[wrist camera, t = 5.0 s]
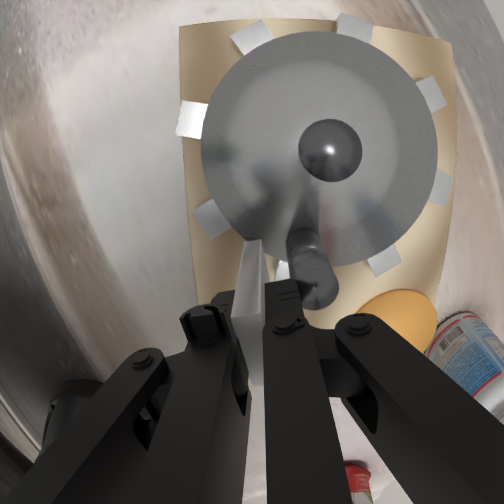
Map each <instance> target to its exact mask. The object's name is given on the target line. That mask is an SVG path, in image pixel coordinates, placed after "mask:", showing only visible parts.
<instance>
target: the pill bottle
mask: <svg viewBox="0 0 504 504" xmlns="http://www.w3.org/2000/svg"><path fill="white" fill-rule="evenodd" d="M425 356H426V357H427V358H428V359H429V360H431V361H432V362H433V363H434V364H435V365H436V366H438V367H439V368H440V369H441V370H442V371H443V372H445V373H446V374H447V375H448V376H449V377H450V378H452V379H453V380H454V381H455V382H456V383H457V384H458V385H460V386H461V387H462V388H463V389H464V390H465V391H466V392H468V393H469V394H470V395H471V396H472V397H473V398H474V399H476V400H477V401H478V402H479V403H480V404H481V405H482V406H483V407H485V408H486V409H487V410H488V411H489V412H490V413H491V414H492V415H493V416H495V417H496V418H497V419H498V420H499V421H500V422H501V423H502V424H503V425H504V344H503V343H502V342H501V341H500V340H499V338H498V337H497V336H496V335H495V334H494V333H493V332H492V331H491V330H490V328H489V327H488V326H487V325H486V324H485V323H484V322H483V321H482V320H481V319H480V318H479V317H478V316H477V315H475V314H473V313H462V314H458V315H456V316H453V317H452V318H450V319H448V320H447V321H445V322H444V323H443V324H442V325H441V326H440V327H439V328H438V329H437V330H436V332H435V334H434V337H433V339H432V341H431V343H430V344H429V346H428V347H427V349H426V353H425Z"/></svg>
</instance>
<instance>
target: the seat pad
mask: <svg viewBox="0 0 504 504" xmlns="http://www.w3.org/2000/svg"><path fill="white" fill-rule="evenodd" d="M356 313H368V314H373V315H375V316H377V317H379V318H380V319H382V320H383V321H384V322H385V323H386V324H388V325H389V326H390V327H391V328H392V329H394V330H395V331H396V332H397V333H399V334H400V335H401V336H402V337H403V338H404V339H406V340H407V341H408V342H409V343H410V344H412V345H413V346H414V347H415V348H416V349H418V350H419V351H420V352H421V353H423V352H424V351H425V350H426V349H427V347H428V346H429V344H430V343H431V341H432V339H433V337H434V334H435V332H436V327H437V314H436V310H435V308H434V306H433V304H432V303H431V302H430V300H429V299H428V298H427V297H426V296H425V295H423V294H422V293H420V292H418V291H415V290H410V289H396V290H391V291H388V292H385V293H382V294H380V295H378V296H376V297H374V298H373V299H371V300H369V301H368V302H367V303H366V304H364V305H363V306H362V307H361V308H360V309H359V310H358V311H357V312H356Z"/></svg>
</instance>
